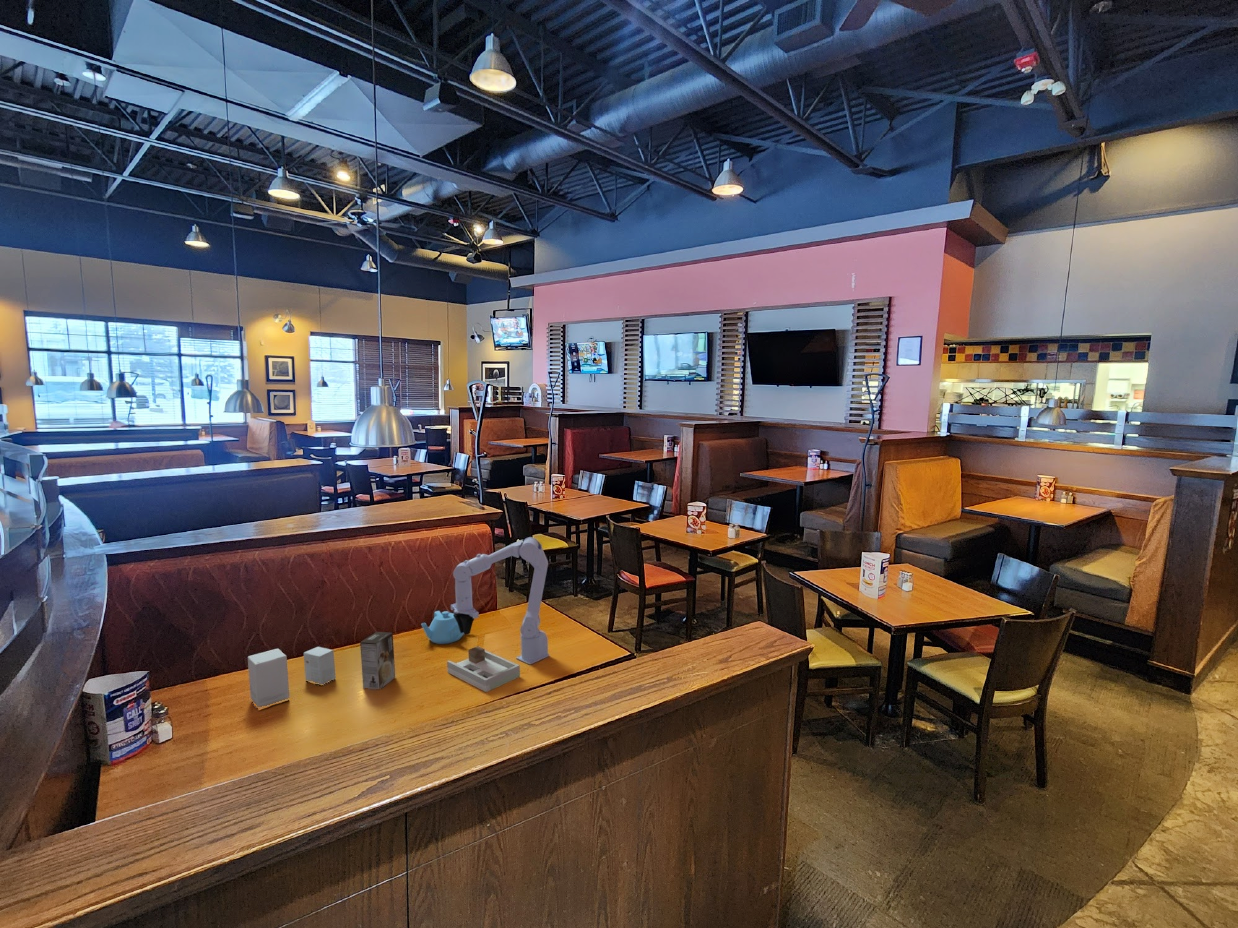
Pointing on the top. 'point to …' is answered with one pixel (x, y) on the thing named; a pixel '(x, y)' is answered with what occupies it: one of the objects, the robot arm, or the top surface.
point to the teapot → (443, 628)
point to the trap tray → (485, 671)
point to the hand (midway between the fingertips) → (465, 632)
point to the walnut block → (476, 654)
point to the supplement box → (268, 677)
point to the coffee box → (377, 660)
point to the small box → (319, 665)
